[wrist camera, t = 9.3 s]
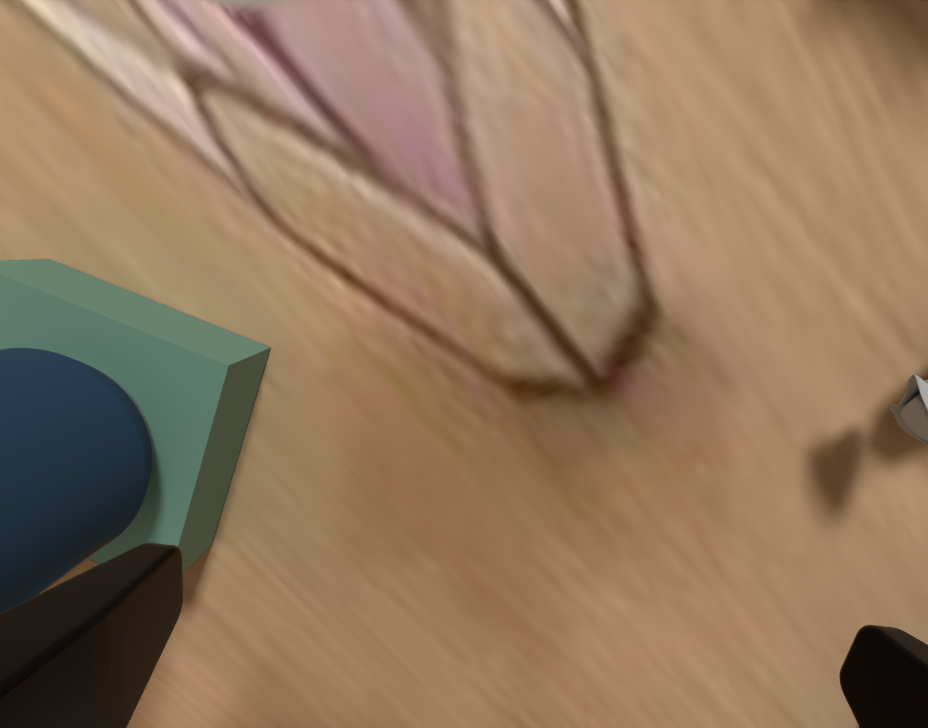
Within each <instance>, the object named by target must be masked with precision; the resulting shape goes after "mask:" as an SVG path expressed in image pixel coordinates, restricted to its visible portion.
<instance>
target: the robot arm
mask: <svg viewBox="0 0 928 728" xmlns="http://www.w3.org/2000/svg"><path fill="white" fill-rule="evenodd" d="M182 603H183V571H182V553H181V550H180V549H179V548H178V547H177V546H175V545H168V544H159V543H143V544H141V545H138V546H136V547H134V548H132V549H130V550H128V551H126V552H124V553H122V554H120V555H118V556H116V557H114V558H112V559H110V560H108V561H106V562H104V563H102V564H100V565H98V566H96V567H94V568H92V569H90V570H88V571H86V572H84V573H82V574H80V575H78V576H76V577H74V578H71V579H69V580H67V581H65V582H63V583H61V584H59V585H57V586H55V587H53V588H51V589H49V590H47V591H45V592H43V593H41V594H39V595H37V596H35V597H33V598H31V599H29V600H27V601H25V602H23V603H21V604H19V605H17V606H15V607H13V608H11V609H9V610H7V611H5V612H3V613H1V614H0V728H126V727H127V725H128V723H129V721H130V719H131V717H132V715H133V713H134V711H135V708H136V706H137V704H138V702H139V700H140V698H141V696H142V694H143V692H144V689H145V687H146V685H147V683H148V681H149V679H150V677H151V675H152V673H153V671H154V668H155V666H156V664H157V662H158V660H159V658H160V656H161V654H162V652H163V650H164V647H165V645H166V643H167V641H168V639H169V637H170V635H171V633H172V631H173V628H174V626H175V624H176V622H177V620H178V618H179V615H180V612H181V608H182ZM840 684H841V688H842V691H843V693H844V696H845V698H846V700H847V702H848V704H849V706H850V708H851V710H852V712H853V714H854V716H855V719H856V721H857V723H858V725H859V727H860V728H928V645H927V644H925V643H923V642H922V641H920V640H918V639H917V638H915V637H913V636H911V635H910V634H908V633H906V632H904V631H902V630H900V629H897V628H893V627H885V626H876V625H867V626H864V627H862V628H861V629H860V630H859V631H858V633H857V635H856V637H855V639H854V641H853V643H852V646H851V648H850V650H849V652H848V654H847V656H846V659H845V661H844V663H843V665H842V667H841V670H840Z"/></svg>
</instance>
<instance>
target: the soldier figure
mask: <svg viewBox="0 0 928 728" xmlns="http://www.w3.org/2000/svg"><path fill="white" fill-rule="evenodd" d="M889 408H890V409H891V411H892V412H893V414H894V417H895V419H896V420H897V422H898V424H899V425H900V427H901V428H902V429H903V430H904V431H905V432H906V433H907V434H909V435H910V436H911V437H913V438H915V439H917V440H919V441H921V442H923V443H925V444H927V445H928V379H927V380H922V379H921V378H920V377H918V376H917V375H912V376H911V377H910V379H909V381H908V385H907V389H906V392H905V394H904V396H903V398H902V399H901V401H900V402H899V404H897V405H890V406H889Z"/></svg>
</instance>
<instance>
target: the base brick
mask: <svg viewBox="0 0 928 728" xmlns="http://www.w3.org/2000/svg"><path fill="white" fill-rule="evenodd" d="M8 348H34V349H41V350H46V351H51V352H55V353H58V354H61V355H64V356H67V357H70V358H73V359H75V360H78V361H80V362H82V363H85V364H87V365H89V366H91V367H94V368H96V369H98V370H100V371H102V372H104V373H105V374H107V375H109V376H110V377H112V378H113V379H114V380H116V381H117V382H118V383H119V384H121V385H122V386H123V387H124V388H125V389H126V390H127V391H128V392H129V393H130V395H131V396H132V397H133V398H134V400H135V401H136V402H137V404H138V405H139V407H140V408H141V410H142V412H143V414H144V416H145V418H146V420H147V422H148V425H149V428H150V431H151V435H152V440H153V449H154V457H153V466H152V471H151V475H150V480H149V484H148V488H147V492H146V495H145V498H144V500H143V503H142V505H141V507H140V509H139V511H138V513H137V515H136V516H135V518H134V519H133V521H132V522H131V524H130V525H129V526H128V527H127V528H126V529H125V530H124V531H123V532H122V533H121V534H120V535H119V536H118V537H117V538H115V539H114V540H113V541H111V542H110V543H109V544H107V545H106V546H104V547H103V548H102V549H100V550H99V551H98V552H96V553H95V554H94V555H92V556H91V557H89V558H88V559H89V560H91V561H94V562H96V563H99V564H102V563H104V562H106V561H108V560H110V559H112V558H114V557H116V556H118V555H120V554H122V553H124V552H126V551H128V550H130V549H132V548H134V547H136V546H138V545H141V544H143V543H159V544H168V545H175V546H177V547H178V548H179V549H180V550H181V553H182V571H183V573H184V572H185V571H186V570H187V569H188V568H189V567H190V566H191V565H192V564H193V563H194V562H195V561H196V560H197V559H198V558H199V557H200V556H201V555H202V554H203V553H204V552H205V551H206V550H207V549H208V548H209V547H210V546H211V545H212V542H213V539H214V536H215V532H216V529H217V526H218V522H219V519H220V516H221V512H222V509H223V506H224V502H225V499H226V495H227V492H228V489H229V485H230V482H231V479H232V475H233V472H234V469H235V465H236V462H237V459H238V455H239V452H240V448H241V445H242V442H243V438H244V435H245V432H246V428H247V425H248V422H249V418H250V415H251V412H252V408H253V405H254V401H255V398H256V395H257V391H258V388H259V385H260V381H261V378H262V375H263V371H264V368H265V365H266V361H267V358H268V354H269V351H270V347H268V346H265V345H263V344H260V343H258V342H255V341H253V340H250V339H248V338H245V337H243V336H240V335H238V334H235V333H233V332H230V331H228V330H225V329H223V328H220V327H218V326H215V325H213V324H210V323H208V322H205V321H203V320H200V319H198V318H195V317H193V316H190V315H188V314H185V313H183V312H180V311H178V310H175V309H173V308H170V307H168V306H165V305H163V304H160V303H158V302H155V301H153V300H150V299H148V298H145V297H143V296H140V295H138V294H135V293H133V292H130V291H128V290H125V289H123V288H120V287H118V286H115V285H113V284H110V283H108V282H105V281H103V280H100V279H98V278H95V277H93V276H90V275H88V274H85V273H83V272H80V271H78V270H75V269H73V268H70V267H68V266H65V265H63V264H60V263H57V262H55V261H52V260H50V259H33V260H4V261H0V350H2V349H8Z"/></svg>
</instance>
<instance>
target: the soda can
mask: <svg viewBox="0 0 928 728" xmlns="http://www.w3.org/2000/svg"><path fill="white" fill-rule="evenodd" d="M153 457H154V449H153V440H152V435H151V431H150V428H149V425H148V422H147V420H146V418H145V416H144V414H143V412H142V410H141V408H140V407H139V405H138V404H137V402H136V401H135V400H134V398H133V397H132V396H131V395H130V393H129V392H128V391H127V390H126V389H125V388H124V387H123V386H122V385H121V384H119V383H118V382H117V381H116V380H114V379H113V378H112V377H110V376H109V375H107V374H105V373H104V372H102V371H100V370H98V369H96V368H94V367H91V366H89V365H87V364H85V363H82V362H80V361H78V360H75V359H73V358H70V357H67V356H64V355H61V354H58V353H55V352H51V351H46V350H41V349H34V348H8V349H2V350H0V614H1V613H3V612H5V611H7V610H9V609H11V608H13V607H15V606H17V605H19V604H21V603H23V602H25V601H27V600H29V599H31V598H33V597H35V596H37V595H39V594H40V593H42V592H43V591H44V590H46V589H47V588H49V587H50V586H51V585H53V584H54V583H55V582H57V581H58V580H59V579H61V578H62V577H64V576H65V575H66V574H68V573H69V572H70V571H72V570H73V569H74V568H76V567H77V566H79V565H80V564H81V563H83V562H84V561H85V560H87V559H88V558H89V557H91V556H92V555H94V554H95V553H96V552H98V551H99V550H100V549H102V548H103V547H104V546H106V545H107V544H109V543H110V542H111V541H113V540H114V539H115V538H117V537H118V536H119V535H120V534H121V533H122V532H123V531H124V530H125V529H126V528H127V527H128V526H129V525H130V524H131V522H132V521H133V519H134V518H135V516H136V515H137V513H138V511H139V509H140V507H141V505H142V503H143V500H144V498H145V495H146V492H147V488H148V484H149V480H150V475H151V471H152V466H153Z"/></svg>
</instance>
